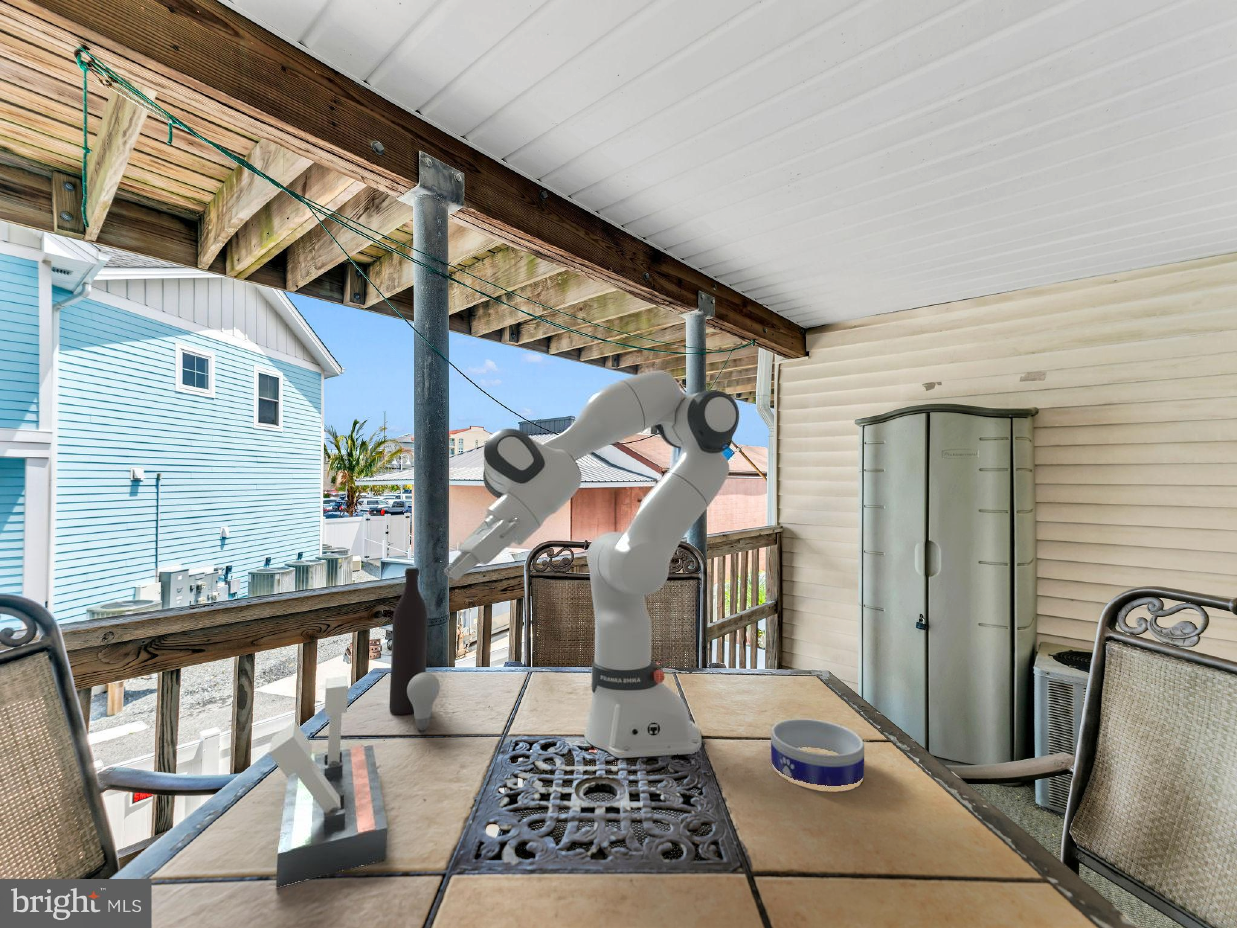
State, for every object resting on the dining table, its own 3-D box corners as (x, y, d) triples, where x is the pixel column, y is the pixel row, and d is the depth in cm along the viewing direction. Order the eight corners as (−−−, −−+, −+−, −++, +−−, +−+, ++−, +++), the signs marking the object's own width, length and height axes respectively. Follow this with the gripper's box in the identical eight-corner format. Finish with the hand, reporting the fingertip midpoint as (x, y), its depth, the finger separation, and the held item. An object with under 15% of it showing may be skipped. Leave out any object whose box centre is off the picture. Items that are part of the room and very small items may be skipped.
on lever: (347, 793, 78) (295, 721, 75) (348, 812, 73) (293, 736, 71) (326, 809, 76) (272, 737, 74) (326, 829, 72) (268, 753, 69)
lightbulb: (443, 724, 113) (445, 668, 114) (430, 737, 107) (432, 678, 108) (414, 722, 114) (416, 667, 115) (399, 735, 108) (401, 677, 109)
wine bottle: (415, 700, 126) (420, 565, 127) (430, 709, 121) (435, 568, 122) (383, 708, 121) (389, 567, 122) (397, 718, 116) (403, 571, 117)
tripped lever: (343, 757, 90) (347, 675, 91) (344, 771, 86) (348, 685, 86) (322, 760, 89) (326, 678, 89) (322, 775, 84) (325, 688, 85)
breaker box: (371, 769, 95) (373, 736, 95) (386, 860, 72) (387, 816, 72) (289, 784, 90) (290, 749, 90) (275, 888, 66) (278, 841, 67)
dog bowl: (754, 770, 98) (754, 734, 98) (794, 742, 109) (794, 710, 109) (843, 805, 87) (843, 764, 87) (877, 770, 98) (877, 735, 99)
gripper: (535, 532, 92) (469, 593, 87) (511, 535, 111) (455, 586, 106) (509, 503, 91) (441, 563, 86) (489, 511, 110) (432, 561, 105)
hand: (449, 575), depth 96 cm, fingers open, 8 cm apart
